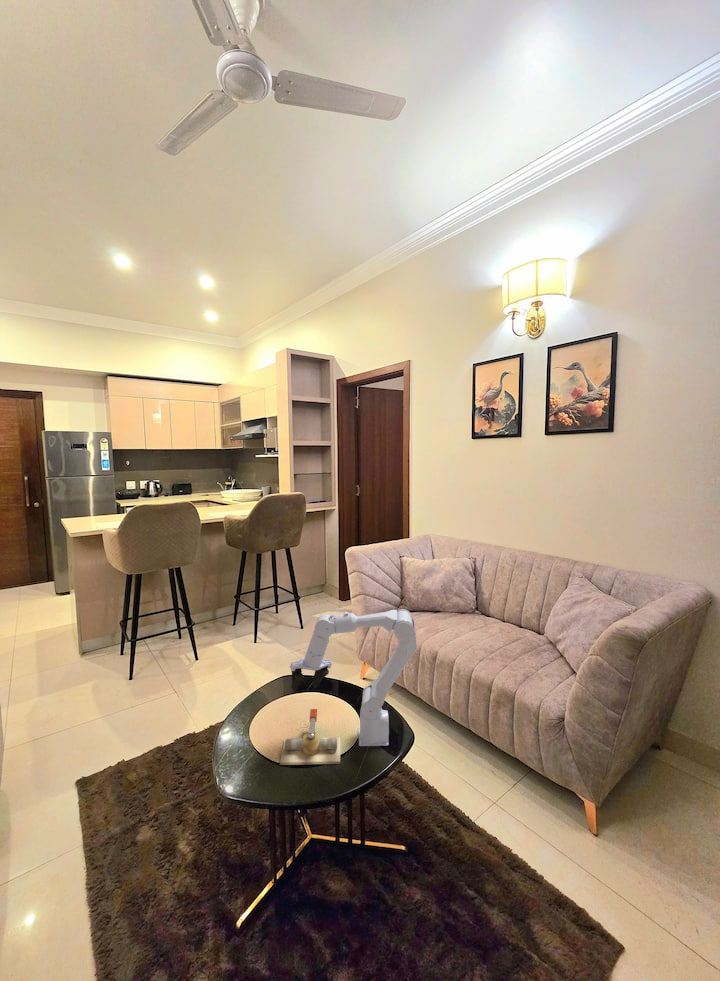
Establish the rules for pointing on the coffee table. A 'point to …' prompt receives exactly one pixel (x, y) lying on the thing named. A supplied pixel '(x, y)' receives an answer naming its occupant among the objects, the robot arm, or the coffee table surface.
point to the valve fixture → (310, 751)
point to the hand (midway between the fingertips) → (303, 687)
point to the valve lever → (312, 723)
